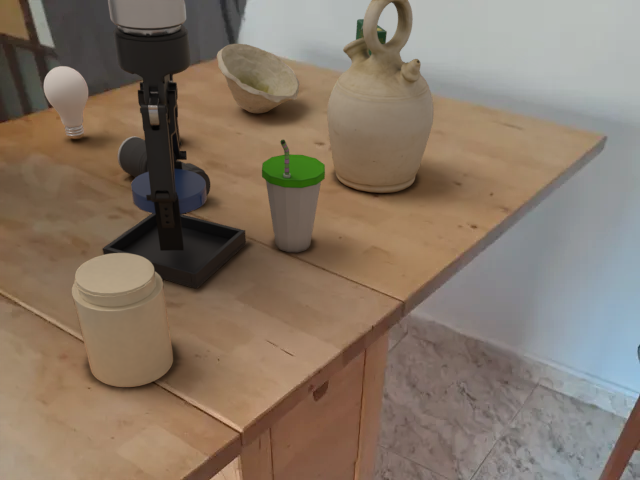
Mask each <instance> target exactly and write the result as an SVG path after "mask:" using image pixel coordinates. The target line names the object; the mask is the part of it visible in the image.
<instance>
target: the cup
mask: <svg viewBox="0 0 640 480" xmlns="http://www.w3.org/2000/svg"><path fill="white" fill-rule="evenodd" d="M279 143H280V146H281V147H282V149H283V154H280V155H274V156H271V157H270V158H268V159H267V160H265V161H263V162H262V167H261V177H262V178H263V180H265V184H266V190H267V191H266V192H267V198H268V204H269V211H270V217H271V222H272V230H273V235H274V243H275V246H276V247H277V249H278V250H279V251H283V252H286V253H302V252H305V251H307V250H308V249H309V248H310V247H311V242H312V236H313V230H314V223H315V220H316V219H315V218H316V213H317V208H318V201H319V195H320V189H321V183H322V181H324V180H325V177H326V165H325V164H324V163H323V162H322V161H320V160H319V159H317V158H315V157H312V156H308V155H305V154H292V153H291V154H290V149H289V147H288V144H287V142H286V140H285V139H281V140H280V142H279Z"/></svg>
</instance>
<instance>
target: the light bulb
mask: <svg viewBox="0 0 640 480" xmlns="http://www.w3.org/2000/svg"><path fill="white" fill-rule="evenodd" d="M43 92H44V95H45V97H46V99H47V101H48V103H49V104H50V106H52V107H53V109H54V110H55V111H56V113H57V114H58V116H59V118H60V120H61V123H62V125H63V126H64V132H65V135H66V137H67V138H69V139H72V140H76V141H77V140H79V139H81V138H83V137H84V135H85V128H84V125H83V123H84V112H85V108H86V105H87V102H88V100H89V87H88V84H87V82H86V80H85V78H84V77H83V75H82V74H81V73H80V72H79V71H78V70H76V69H74V68H72V67H70V66H65V65H59V66H55V67H53V68H51V69H50V70H49V71H48V72H47V73H46V76H45V77H44V80H43Z"/></svg>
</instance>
